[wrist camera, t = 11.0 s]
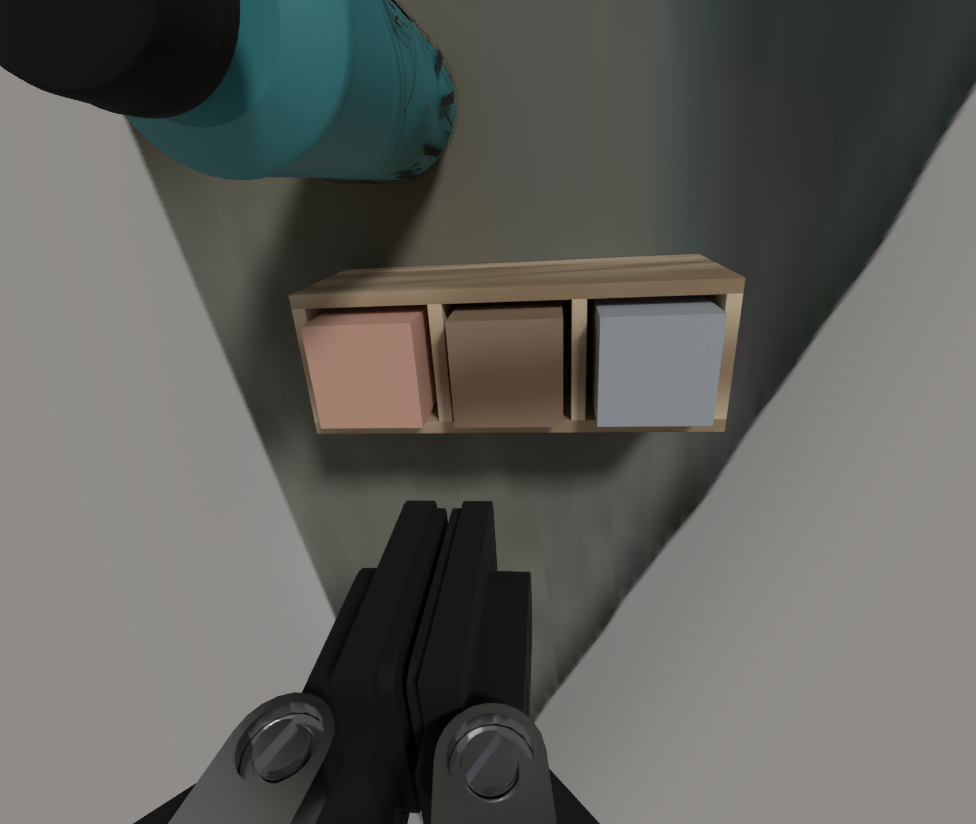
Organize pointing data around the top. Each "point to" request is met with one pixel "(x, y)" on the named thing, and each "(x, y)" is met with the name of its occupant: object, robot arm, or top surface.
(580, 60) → the top surface
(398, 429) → the wooden compartment box
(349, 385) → the salmon pink cube
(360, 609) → the robot arm
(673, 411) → the grey cube
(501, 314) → the brown cube
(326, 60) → the beverage bottle
